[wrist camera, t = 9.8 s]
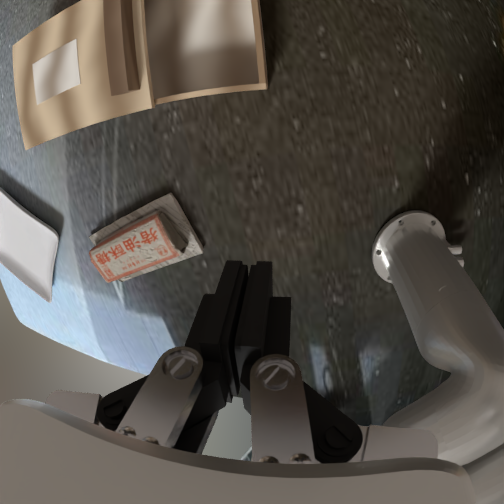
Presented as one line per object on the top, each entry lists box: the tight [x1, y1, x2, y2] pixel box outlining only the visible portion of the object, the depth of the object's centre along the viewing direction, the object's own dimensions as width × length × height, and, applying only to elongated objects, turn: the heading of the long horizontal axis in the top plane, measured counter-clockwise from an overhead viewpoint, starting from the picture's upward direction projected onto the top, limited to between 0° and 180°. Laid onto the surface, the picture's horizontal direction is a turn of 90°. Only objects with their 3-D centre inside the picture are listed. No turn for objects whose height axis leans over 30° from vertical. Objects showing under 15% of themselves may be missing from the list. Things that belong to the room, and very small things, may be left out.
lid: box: [13, 0, 155, 150], centre depth 20 cm, size 21×17×3 cm
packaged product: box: [89, 193, 204, 283], centre depth 40 cm, size 18×5×10 cm
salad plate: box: [0, 187, 59, 303], centre depth 43 cm, size 21×21×3 cm
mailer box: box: [144, 0, 268, 105], centre depth 23 cm, size 20×16×6 cm
